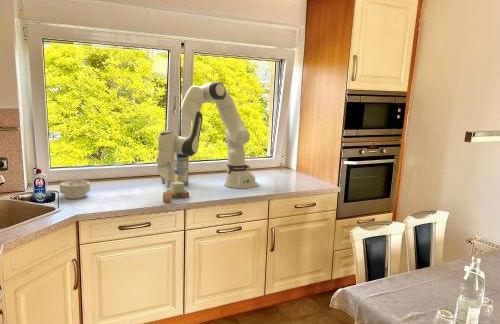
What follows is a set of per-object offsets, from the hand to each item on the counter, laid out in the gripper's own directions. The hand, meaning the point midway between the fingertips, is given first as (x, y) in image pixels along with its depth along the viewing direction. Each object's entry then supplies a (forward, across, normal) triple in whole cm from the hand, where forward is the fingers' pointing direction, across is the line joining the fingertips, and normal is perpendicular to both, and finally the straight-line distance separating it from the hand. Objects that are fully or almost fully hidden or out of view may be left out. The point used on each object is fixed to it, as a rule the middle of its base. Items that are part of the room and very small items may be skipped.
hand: (165, 185), depth 206 cm
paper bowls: (+10, +25, +44) cm, 51 cm away
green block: (+6, +9, -10) cm, 14 cm away
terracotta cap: (+9, 0, -1) cm, 9 cm away
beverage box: (+9, +35, -19) cm, 41 cm away
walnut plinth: (+9, +9, -10) cm, 16 cm away
